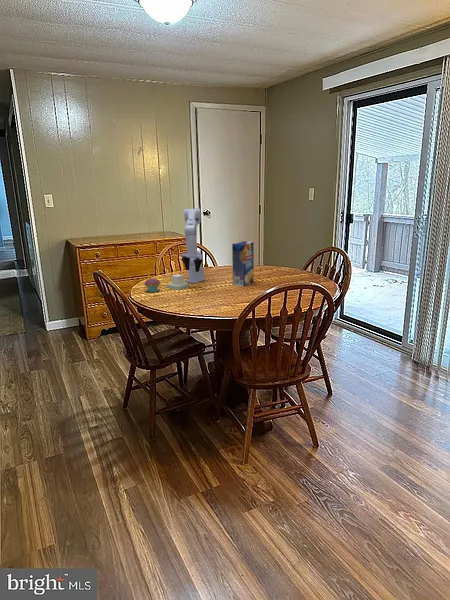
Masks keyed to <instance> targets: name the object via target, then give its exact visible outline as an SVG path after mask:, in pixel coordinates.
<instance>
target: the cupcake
mask: <svg viewBox="0 0 450 600" xmlns="http://www.w3.org/2000/svg"><path fill="white" fill-rule="evenodd" d="M147 275H148V279H146V281H144V286H145V287H146V288H147V291H148V292H149V293H157V292H158V290H159V286H160V285H161V281H160V280H159V279H157V278H151V276H150V275H151V274H150V272H149V270H147Z"/></svg>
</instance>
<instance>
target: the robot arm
mask: <svg viewBox="0 0 450 600" xmlns="http://www.w3.org/2000/svg"><path fill="white" fill-rule="evenodd" d="M183 217H184V223H185V225H184V236H185V237H184V238H185V246H186V248H185V251H186V253H185V252H184V253H181V259H180V261H182V263H183V265H184V268H185V271H187V275H188V276H187V277H188V279H187V280H185V283H193V284H197V283H200V282H204V281H206V279H205V274H204V273H205V272H204V267H203V265H202V264H203V261H204V257H203V255H202V253H201V252H200V251H199V250H198V240H197V239H198V238H197V236H198V229H197V228H198V226H199V225H200V224H201V219H202V218H201V217H202V215H201V208H184V210H183Z"/></svg>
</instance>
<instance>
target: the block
mask: <svg viewBox="0 0 450 600" xmlns="http://www.w3.org/2000/svg"><path fill="white" fill-rule="evenodd" d="M170 279H171V283H172V284H173V285H181V284H184V283H185V275H183V274H179V273H178V274H174V275H171V277H170Z"/></svg>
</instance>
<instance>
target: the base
mask: <svg viewBox="0 0 450 600" xmlns="http://www.w3.org/2000/svg"><path fill="white" fill-rule="evenodd" d="M189 287H190V282H184V284H181V285H173V284H172V282H170V283H167V284H166V288H167V289H172V290H175V291H181V290H183V289H187V288H189Z"/></svg>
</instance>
